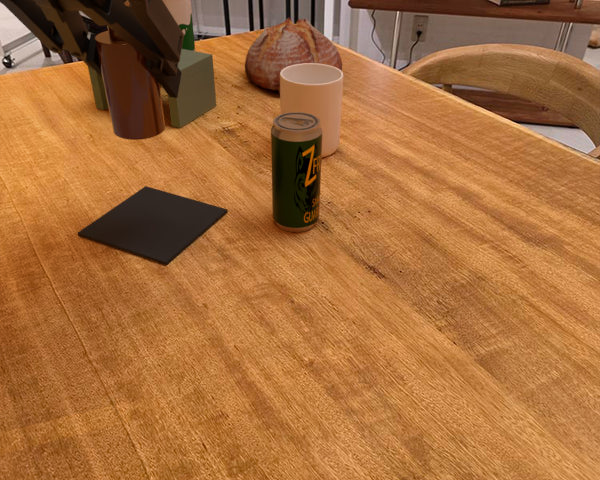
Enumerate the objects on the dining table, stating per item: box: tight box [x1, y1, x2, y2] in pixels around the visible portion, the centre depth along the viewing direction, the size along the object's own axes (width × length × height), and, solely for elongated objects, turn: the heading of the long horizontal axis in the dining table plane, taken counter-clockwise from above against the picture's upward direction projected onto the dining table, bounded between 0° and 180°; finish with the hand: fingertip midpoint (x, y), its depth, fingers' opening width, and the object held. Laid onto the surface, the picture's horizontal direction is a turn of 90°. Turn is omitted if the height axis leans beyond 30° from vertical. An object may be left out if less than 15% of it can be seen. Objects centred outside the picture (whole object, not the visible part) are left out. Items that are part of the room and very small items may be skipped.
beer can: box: [270, 112, 322, 233], centre depth 64 cm, size 5×5×12 cm
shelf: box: [87, 49, 217, 129], centre depth 91 cm, size 16×10×8 cm, turn 63°
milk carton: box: [162, 0, 196, 51], centre depth 98 cm, size 9×9×20 cm
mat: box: [77, 185, 229, 266], centre depth 67 cm, size 12×12×1 cm
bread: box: [244, 16, 343, 94], centre depth 102 cm, size 16×20×10 cm
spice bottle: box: [95, 25, 166, 141], centre depth 56 cm, size 5×5×12 cm
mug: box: [279, 63, 344, 159], centre depth 82 cm, size 12×8×10 cm
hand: (148, 82), depth 61 cm, fingers closed on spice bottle, 5 cm apart
